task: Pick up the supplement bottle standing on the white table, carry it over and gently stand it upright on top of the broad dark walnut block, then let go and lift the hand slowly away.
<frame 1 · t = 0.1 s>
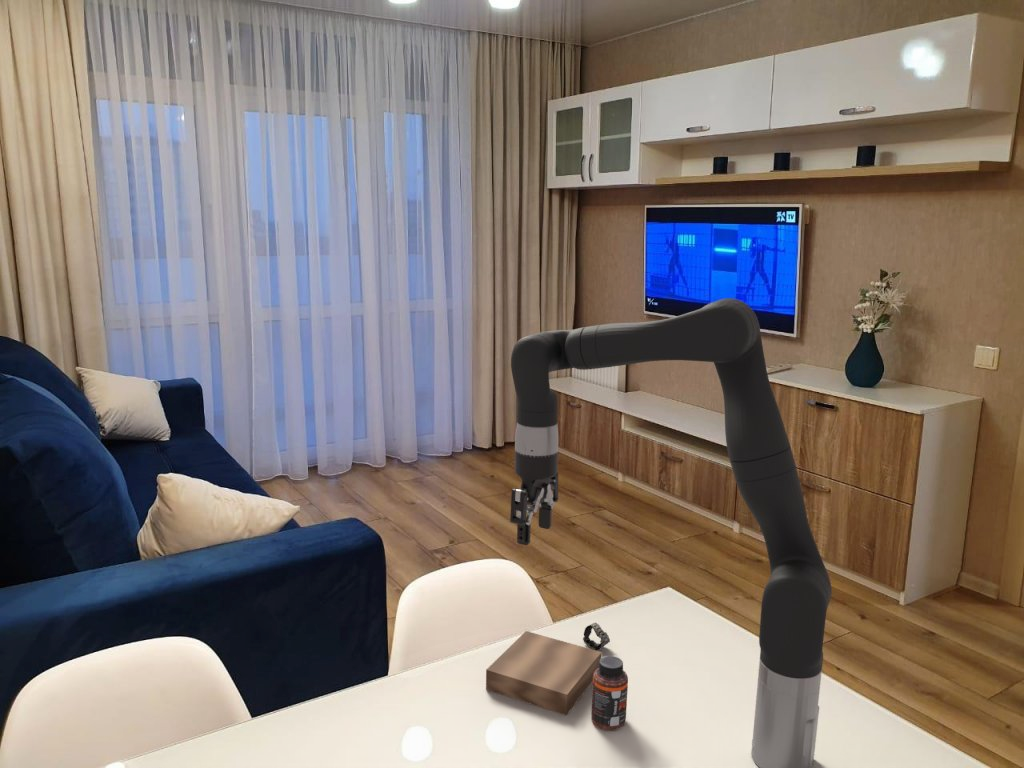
hand: (534, 535, 146), 29 cm above the table, tool pointing down, fingers open, 8 cm apart
supplement bottle: (608, 722, 141), on the table
wristwatch: (596, 647, 165), on the table
walnut block: (544, 680, 153), on the table
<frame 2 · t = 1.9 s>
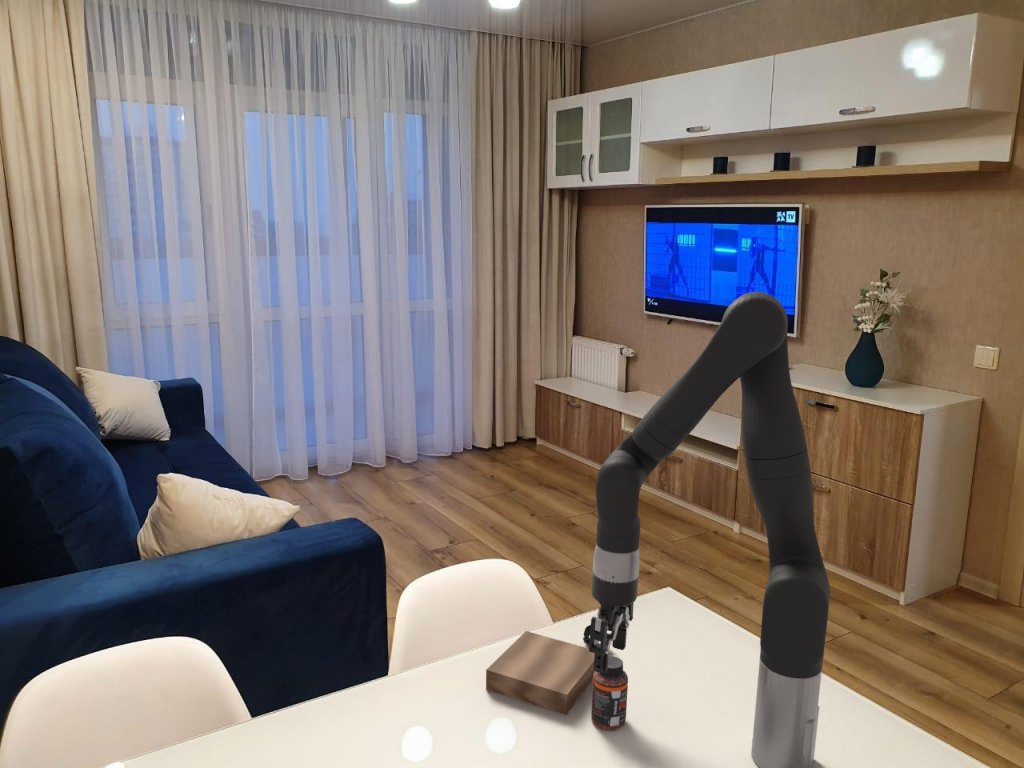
hand: (609, 659, 139), 12 cm above the table, tool pointing down, fingers open, 8 cm apart
nothing on the table moved.
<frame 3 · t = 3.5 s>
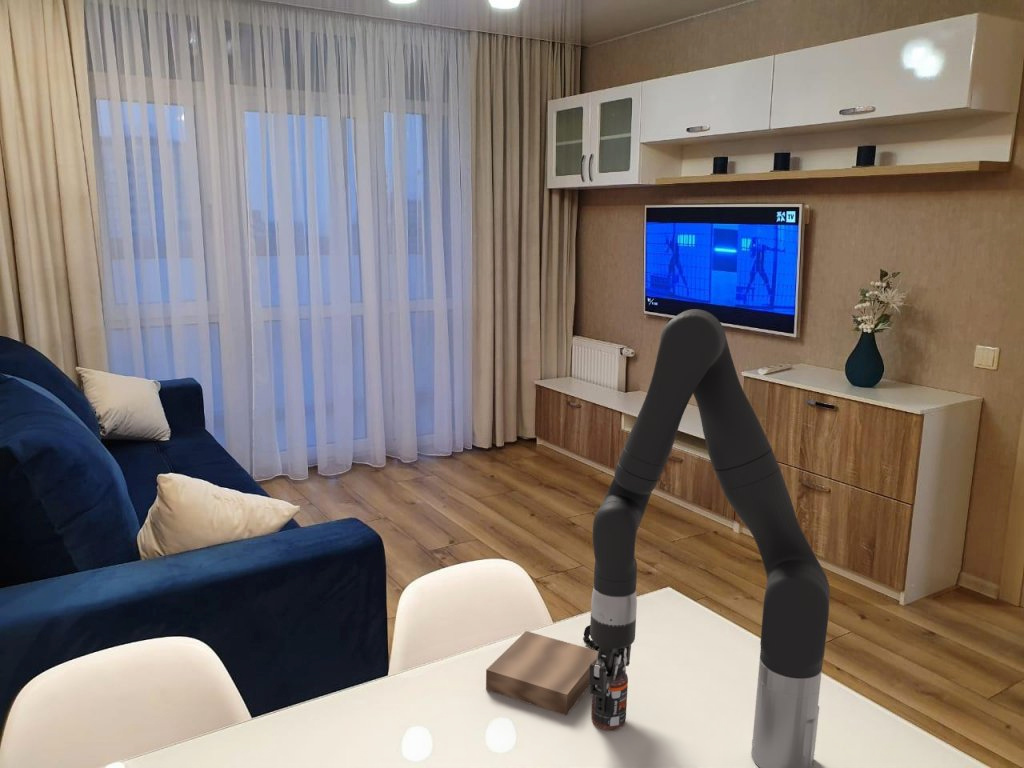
hand: (609, 702, 140), 4 cm above the table, tool pointing down, fingers closed on supplement bottle, 6 cm apart
supplement bottle: (608, 722, 141), on the table, touching gripper
everything else where it was.
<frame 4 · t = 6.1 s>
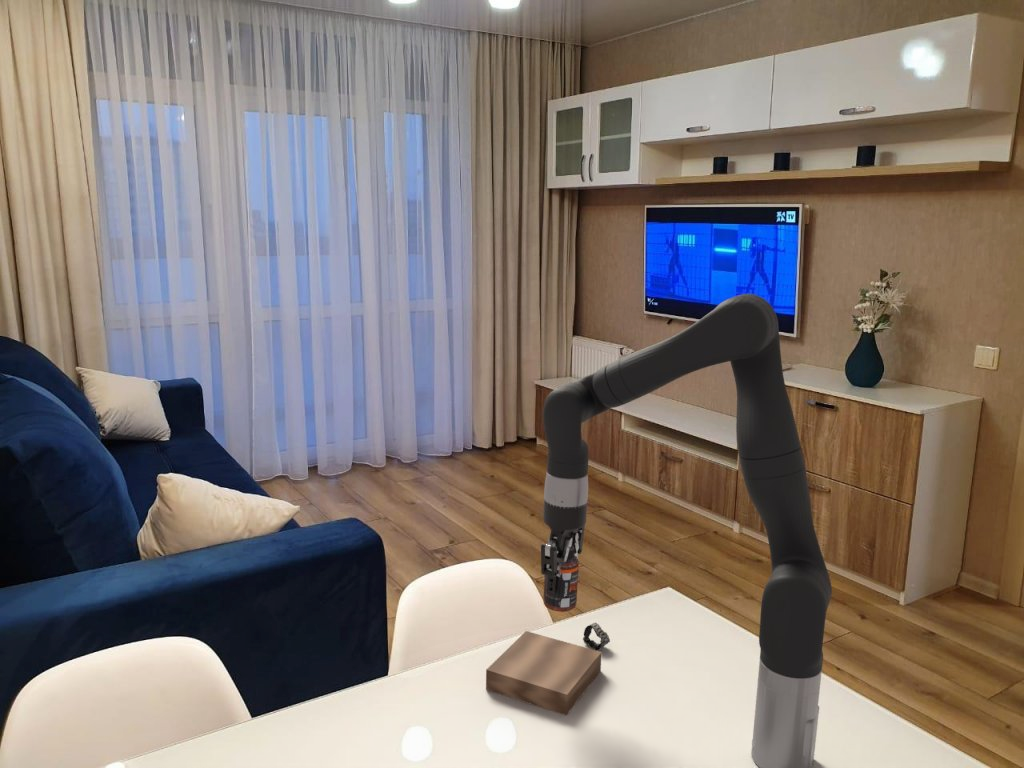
hand: (560, 586, 145), 20 cm above the table, tool pointing down, fingers closed on supplement bottle, 6 cm apart
supplement bottle: (559, 606, 146), point 17 cm above the table, touching gripper
everything else where it was.
when the fingers open (8 cm above the table, at t = 8.9 s): supplement bottle stays where it is, resting on walnut block.
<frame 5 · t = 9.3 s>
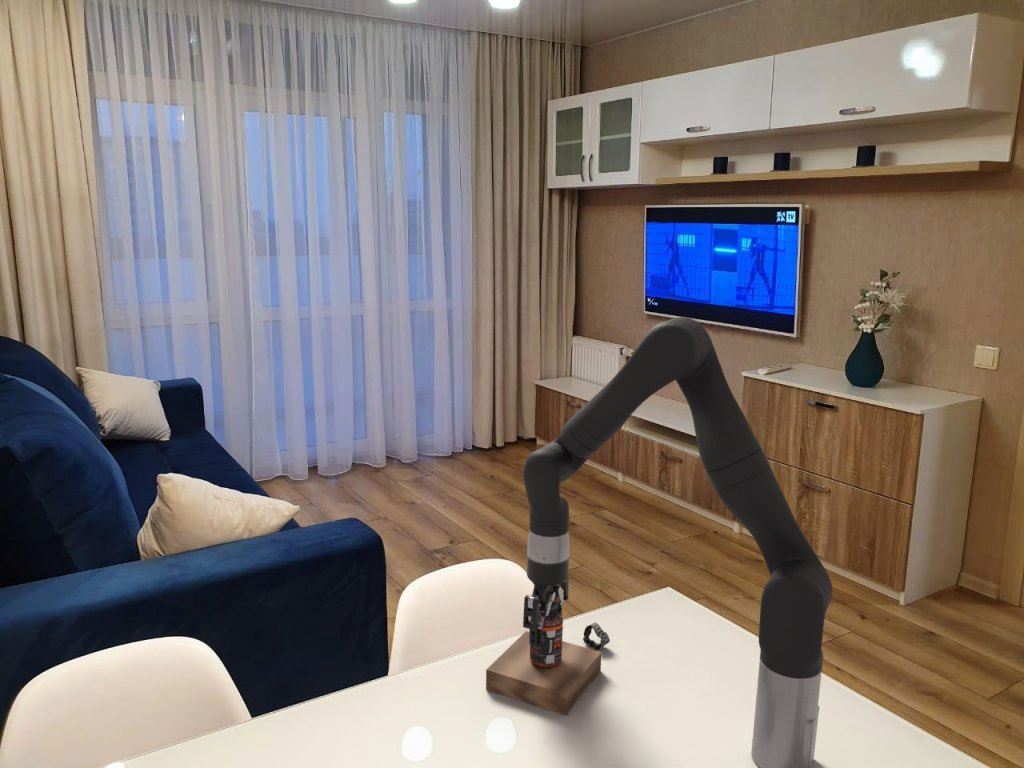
hand: (545, 635, 151), 9 cm above the table, tool pointing down, fingers open, 8 cm apart
supplement bottle: (545, 661, 152), point 4 cm above the table, touching walnut block
everything else where it was.
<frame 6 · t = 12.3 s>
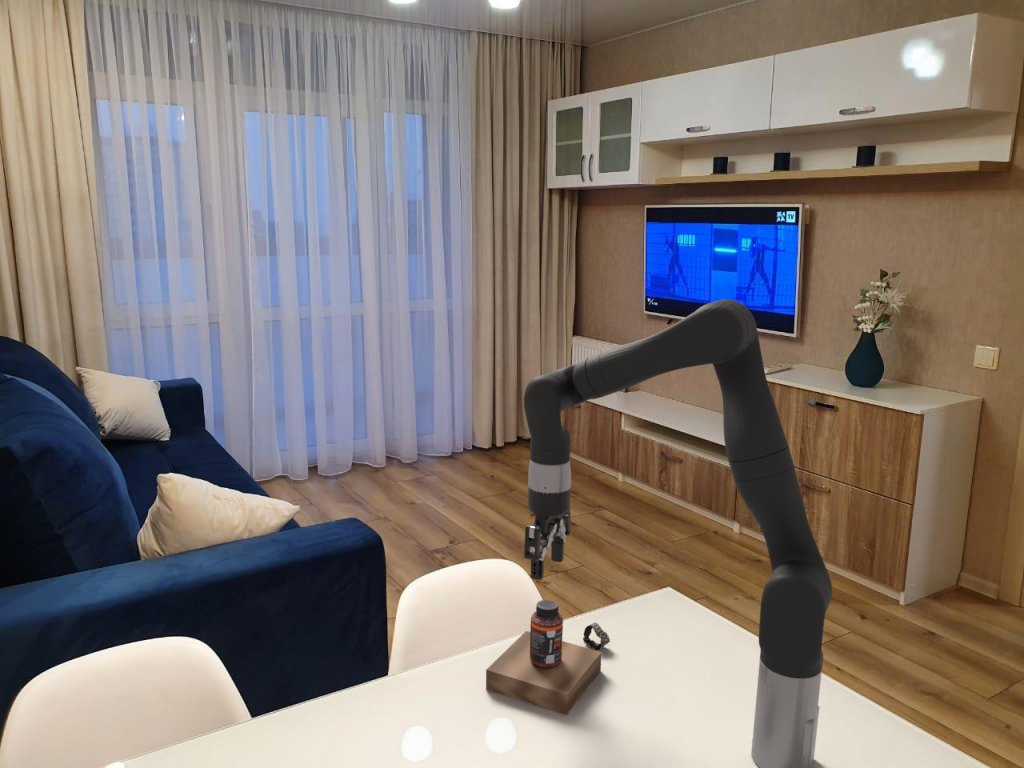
hand: (547, 569, 148), 22 cm above the table, tool pointing down, fingers open, 8 cm apart
nothing on the table moved.
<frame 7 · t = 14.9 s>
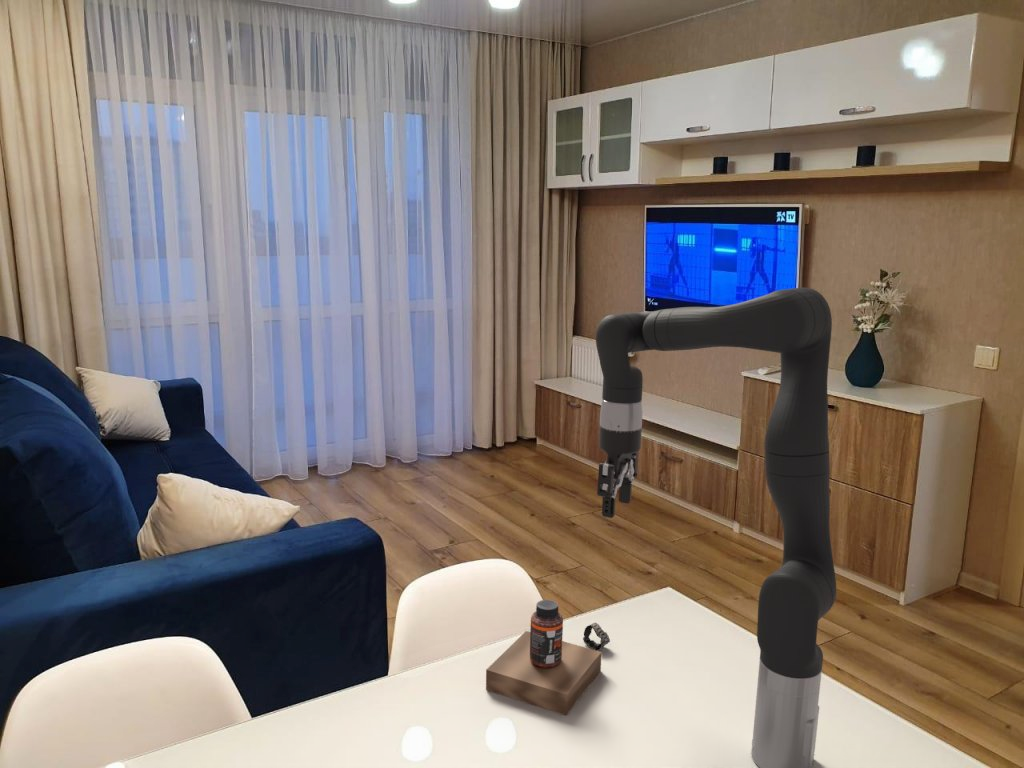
hand: (616, 509, 151), 32 cm above the table, tool pointing down, fingers open, 8 cm apart
nothing on the table moved.
at the end: supplement bottle inside the target area on the walnut block (0.1 cm from its centre), point 3.8 cm above the walnut block's base; supplement bottle tilted 0°; the gripper is holding nothing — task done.
